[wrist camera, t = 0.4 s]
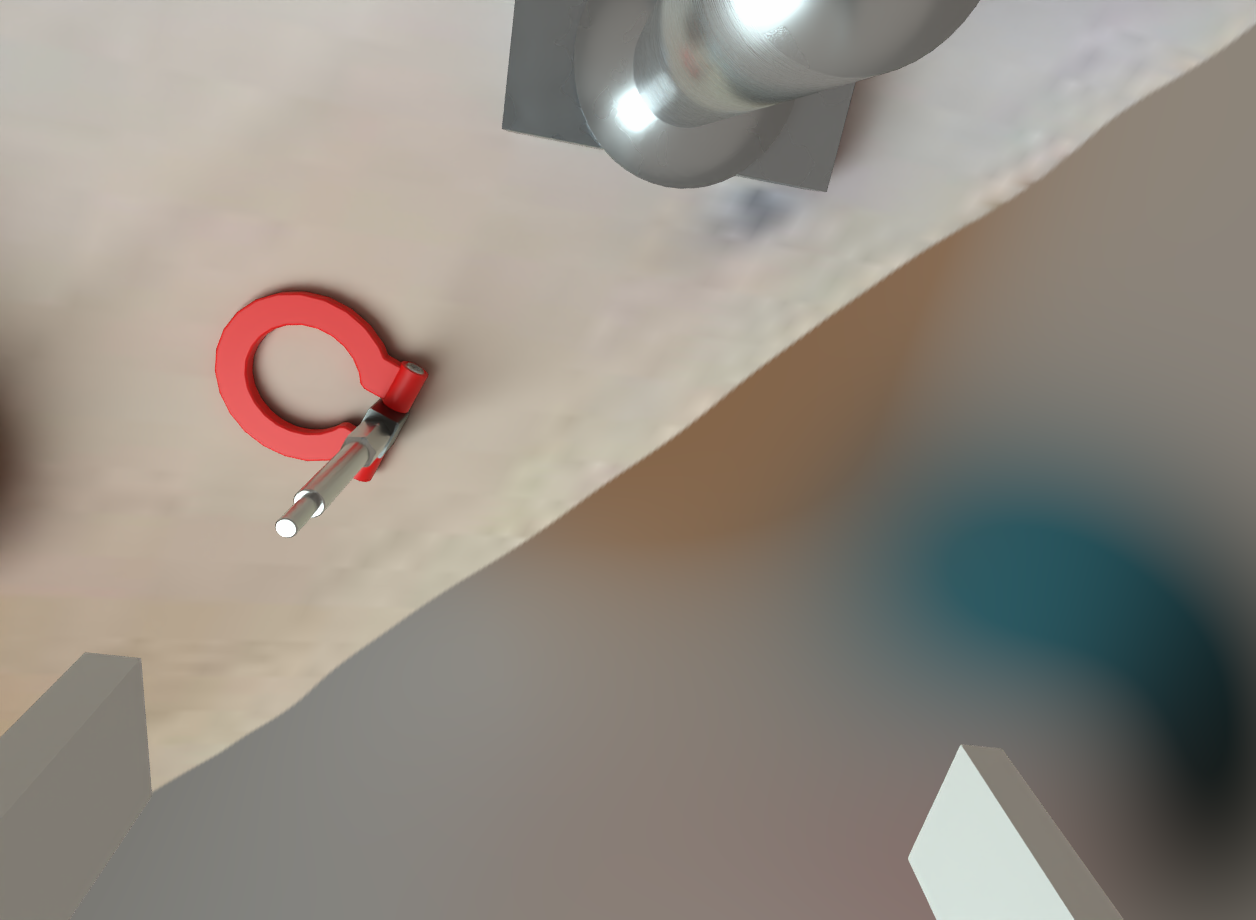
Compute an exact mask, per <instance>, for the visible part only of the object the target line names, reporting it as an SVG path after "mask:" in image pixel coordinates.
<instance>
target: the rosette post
mask: <svg viewBox="0 0 1256 920" xmlns="http://www.w3.org/2000/svg"><path fill="white" fill-rule="evenodd" d="M979 1H980V0H515V7H514V17H513V27H512V36H511V46H510V56H509V65H508V75H507V85H506V94H505V104H504V114H503V123H502V129H504V130H506V131H509V132H514V133H519V134H524V135H530V136H535V137H540V138H545V139H550V140H555V141H560V142H565V143H571V144H576V145H581V146H586V147H591V148H596V149H601V150H604V151H605V152H606V153H607V154H608V155H609V156H610V157H611V158H612V159H613V160H614V161H615V162H616V163H618V164H619V165H620V166H621V167H623V168H624V169H625V170H627V171H628V172H630V173H632V174H633V175H635V176H637V177H639V178H641V179H643V180H646V181H648V182H650V183H654V184H657V185H661V186H665V187H672V188H680V189H681V188H699V187H705V186H710V185H713V184H716V183H719V182H722V181H724V180H727V179H729V178H731V177H733V176H740V177H745V178H750V179H755V180H760V181H766V182H771V183H776V184H781V185H786V186H791V187H796V188H801V189H807V190H815V191H823V192H827V189H828V185H829V181H830V177H831V173H832V170H833V166H834V162H835V158H836V154H837V151H838V147H839V143H840V139H841V135H842V132H843V128H844V124H845V120H846V116H847V113H848V109H849V105H850V101H851V97H852V94H853V90H854V86H855V82H857V81H860V80H864V79H867V78H871V77H874V76H878V75H881V74H884V73H888V72H891V71H894V70H897V69H900V68H902V67H904V66H906V65H908V64H911V63H913V62H915V61H917V60H918V59H920V58H922V57H923V56H925V55H926V54H928V53H930V52H931V51H933V50H934V49H935V48H936V47H938V46H939V45H940V44H941V43H943V42H944V41H945V40H946V39H947V38H949V37H950V36H951V35H952V34H953V33H954V31H955V30H956V29H957V28H958V27H959V26H960V25H961V24H962V23H963V22H964V21H965V20H966V18H967V17H968V16H969V14H970V13H971V12H972V11H973V9H974V8H975V7H976V5H977V4H978V2H979Z"/></svg>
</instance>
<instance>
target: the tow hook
mask: <svg viewBox="0 0 1256 920" xmlns="http://www.w3.org/2000/svg"><path fill="white" fill-rule="evenodd" d="M286 325H305V326H309V327H313V328H317V329H319V330H321V331H323V332H325V333H327V334H329V335H331V336H332V337H334V338H335V339H336V340H337V341H338V342H340V343H341V344H342V345H343V346H344V347H345V348H346V350H347V351H348V352H349V354H350V355H351V356H352V358H353V360H354V362H355V364H356V367H357V369H358V371H359V376H360V383H361V385H362V386H363V388H364V389H366V390H368V391H369V392H371V393H373V394H375V395H377V396H378V397H380V399H379V400H378V401H377V402H376V403H375V404H374V405H373V406H372V407H370V408H369V409H368V411H367V413H366V415H365V417H364V419H363V420H362V422H361V424H360V425H358V426H357V427H356V426H355V425H353V424H351V423H349V422H343V423H341V424H339V425H338V426H334V427H331V428H327V429H307V428H302V427H298V426H295V425H293V424H291V423H289V422H287V421H285V420H283V419H281V418H280V417H279V416H278V415H276V414H275V413H274V412H272V411H271V410H270V409H269V407H268V406H267V405H266V404H265V402H264V401H263V400H262V399H261V397H260V394H259V392H258V390H257V388H256V386H255V382H254V377H253V372H252V370H253V357H254V355H255V352H256V350H257V347H258V345H259V344H260V342H261V341H262V340H263V339H264V337H265V336H266V335H267V334H268V333H270V332H271V331H273V330H274V329H276V328H279V327H282V326H286ZM215 373H216V378H217V382H218V387H219V392H220V394H221V396H222V398H223V400H224V402H225V404H226V406H227V408H228V410H229V412H230V414H231V415H232V416H233V418H234V419H235V420H236V421H237V422H238V424H239V425H240V426H241V427H242V428H243V430H244V431H245V432H246V433H248V434H249V435H250V436H251V437H253V438H254V439H255V440H257V441H258V442H259V443H260V444H262V445H263V446H265V447H267V448H269V449H271V450H273V451H275V452H278V453H280V454H282V455H284V456H287V457H292V458H296V459H301V460H305V461H326V460H330V461H329V462H328V463H327V464H326V465H325V466H324V467H323V468H322V469H321V470H320V471H319V472H318V473H317V474H315V475H314V476H313V477H312V478H311V479H310V480H309V481H308V482H307V483H306V484H305V485H304V486H303V487H302V488H301V489H300V490H299V491H298V492H297V493H296V495H295V496H294V501H293V503H294V504H293V505H292V506H291V507H290V508H289V509H288V510H287V512H286V513H285V514H284V515H283V516H282V517H281V518H280V519H279V520H278V521H277V522H276V524H275V528H276V531H277V532H278V534H279V535H281V536H283V537H287V538H290V537H293V536H295V535H296V534H297V533H298V531H299V530H300V529H301V528H302V527H303V526H304V525H305V524H306V523H307V521H308V520H309V519H310V518H313V517H317V516H320V515H321V514H322V513H323V512H324V511H325V510H326V509H327V507H328V506H329V505H330V504H331V503H332V502H333V501H334V499H335V498H336V497H337V496H338V495H339V494H340V492H341V491H342V490H343V489H344V488H345V487H346V486H347V484H348V483H349V482H350V481H351V480H352V479H353V478H354V479H356V480H359V481H363V482H368V481H370V480H371V479H372V477H373V475H374V473H375V472H376V470H377V468H378V466H379V464H380V462H381V461H382V459H383V457H384V455H385V453H386V452H387V451H388V449H389V448H390V447H391V446H392V444H393V443H394V441H395V439H396V437H397V435H398V434H399V432H400V430H401V428H402V426H403V424H404V423H405V421H406V419H407V417H408V415H409V409H410V408H411V406H412V404H413V402H414V400H415V398H416V397H417V395H418V393H419V391H420V389H421V388H422V386H423V384H424V382H425V380H426V378H427V377H428V373H427V372H426V371H425V370H424V369H423V368H422V367H420V366H418V365H416V364H414V363H412V362H409V361H402V362H400V361H398V360H396V359H395V358H393V357H391V356H389V355H388V353H387V350H386V348H385V345H384V343H383V342H382V341H381V339H380V338H379V337H378V335H377V334H376V332H375V331H374V330H373V328H372V327H371V325H370V324H369V323H367V322H366V321H365V320H364V319H363V318H362V317H361V316H359V315H358V314H357V313H356V312H355V311H354V310H352V309H351V308H349V307H347V306H345V305H344V304H342V303H340V302H338V301H336V300H334V299H332V298H330V297H327V296H323V295H319V294H314V293H310V292H306V291H302V292H280V293H277V294H273V295H270V296H267V297H263V298H260V299H257V300H255V301H253V302H252V303H250V304H249V305H247V306H246V307H244V308H243V309H241V310H240V311H238V312H237V313H236V314H235V315H234V317H233V318H232V319H231V320H230V322H229V323H228V324H227V326H226V327H225V328H224V330H223V333H222V335H221V338H220V340H219V343H218V346H217V348H216V363H215Z"/></svg>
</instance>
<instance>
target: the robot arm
mask: <svg viewBox="0 0 1256 920" xmlns="http://www.w3.org/2000/svg"><path fill="white" fill-rule="evenodd" d="M151 797H152V789H151V777H150V764H149V751H148V739H147V726H146V714H145V701H144V689H143V676H142V663H141V658H135V657H125V656H116V655H106V654H97V653H87V652H85V653H84V654H83V655H82V656H81V657H80V658H79V659H78V660H77V661H76V662H75V663H74V664H73V665H72V666H71V667H70V668H69V669H68V670H67V671H66V672H65V673H64V674H63V675H62V676H61V677H60V678H59V679H58V680H57V681H56V682H55V683H54V684H53V685H52V686H51V687H50V688H49V689H48V690H47V691H46V692H45V693H44V694H43V695H42V696H41V697H40V698H39V699H38V700H37V701H36V702H35V703H34V704H33V705H32V706H31V707H30V708H29V709H28V710H27V711H26V712H25V713H24V714H23V715H22V716H21V717H20V718H19V719H18V720H17V721H16V722H15V723H14V724H13V725H12V726H11V727H10V728H9V729H8V730H7V731H6V732H5V733H4V734H3V735H2V736H1V737H0V920H70V918H71V917H72V915H73V914H74V912H75V911H76V909H77V908H78V906H79V905H80V903H81V902H82V900H83V898H84V897H85V896H86V894H87V893H88V891H89V890H90V888H91V886H92V885H93V884H94V882H95V881H96V879H97V878H98V876H99V875H100V873H101V872H102V870H103V869H104V867H105V866H106V864H107V862H108V861H109V860H110V858H111V857H112V855H113V854H114V852H115V851H116V849H117V848H118V846H119V845H120V843H121V842H122V840H123V839H124V837H125V836H126V834H127V833H128V831H129V830H130V828H131V827H132V825H133V824H134V822H135V821H136V819H137V818H138V816H139V815H140V813H141V812H142V810H143V809H144V807H145V806H146V804H147V803H148V801H149V800H150V798H151ZM908 860H909V862H910V864H911V866H912V868H913V870H914V873H915V875H916V877H917V879H918V881H919V883H920V885H921V887H922V890H923V892H924V894H925V896H926V898H927V900H928V902H929V904H930V907H931V909H932V911H933V913H934V915H935V917H936V920H1124V919H1123V918H1122V917H1121V915H1120V914H1119V912H1118V911H1117V910H1116V908H1115V907H1114V905H1113V904H1112V903H1111V901H1110V900H1109V898H1108V897H1107V895H1106V894H1105V893H1104V892H1103V890H1102V889H1101V887H1100V886H1099V885H1098V883H1097V881H1096V880H1095V879H1094V877H1093V876H1092V874H1091V873H1090V872H1089V870H1088V869H1087V867H1086V866H1085V865H1084V863H1083V862H1082V860H1081V859H1080V858H1079V857H1078V855H1077V853H1076V852H1075V851H1074V849H1073V848H1072V846H1071V845H1070V844H1069V842H1068V841H1067V839H1066V838H1065V837H1064V835H1063V834H1062V833H1061V831H1060V830H1059V828H1058V827H1057V825H1056V824H1055V823H1054V821H1053V820H1052V818H1051V817H1050V816H1049V814H1048V813H1047V811H1046V810H1045V809H1044V807H1043V806H1042V804H1041V803H1040V802H1039V800H1038V799H1037V797H1036V796H1035V794H1034V793H1033V792H1032V790H1031V789H1030V787H1029V786H1028V785H1027V783H1026V782H1025V781H1024V779H1023V778H1022V776H1021V775H1020V773H1019V772H1018V771H1017V769H1016V768H1015V766H1014V765H1013V764H1012V762H1011V761H1010V759H1009V758H1008V757H1007V755H1006V754H1005V753H1004V751H1003V750H1002V749H1000V748H990V747H981V746H971V745H961V746H960V747H959V750H958V752H957V754H956V756H955V758H954V760H953V762H952V765H951V767H950V769H949V771H948V774H947V775H946V778H945V780H944V782H943V784H942V786H941V788H940V790H939V793H938V795H937V797H936V799H935V801H934V803H933V806H932V808H931V810H930V812H929V814H928V816H927V818H926V821H925V823H924V825H923V827H922V829H921V831H920V834H919V836H918V838H917V840H916V842H915V844H914V846H913V849H912V851H911V853H910V855H909V857H908Z"/></svg>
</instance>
